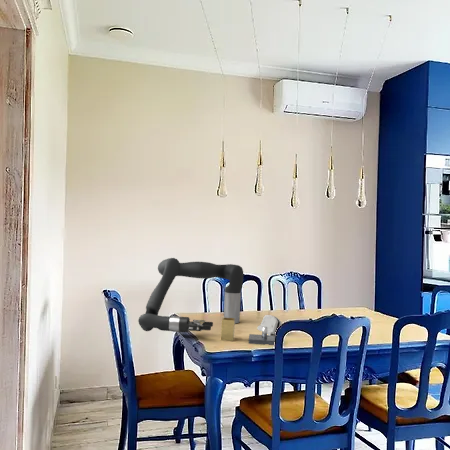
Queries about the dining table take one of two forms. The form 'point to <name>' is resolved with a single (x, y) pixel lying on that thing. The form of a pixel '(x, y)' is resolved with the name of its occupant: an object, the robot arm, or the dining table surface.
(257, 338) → the shaft stand
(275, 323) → the hinge
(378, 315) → the dining table surface
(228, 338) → the tan rectangular block
